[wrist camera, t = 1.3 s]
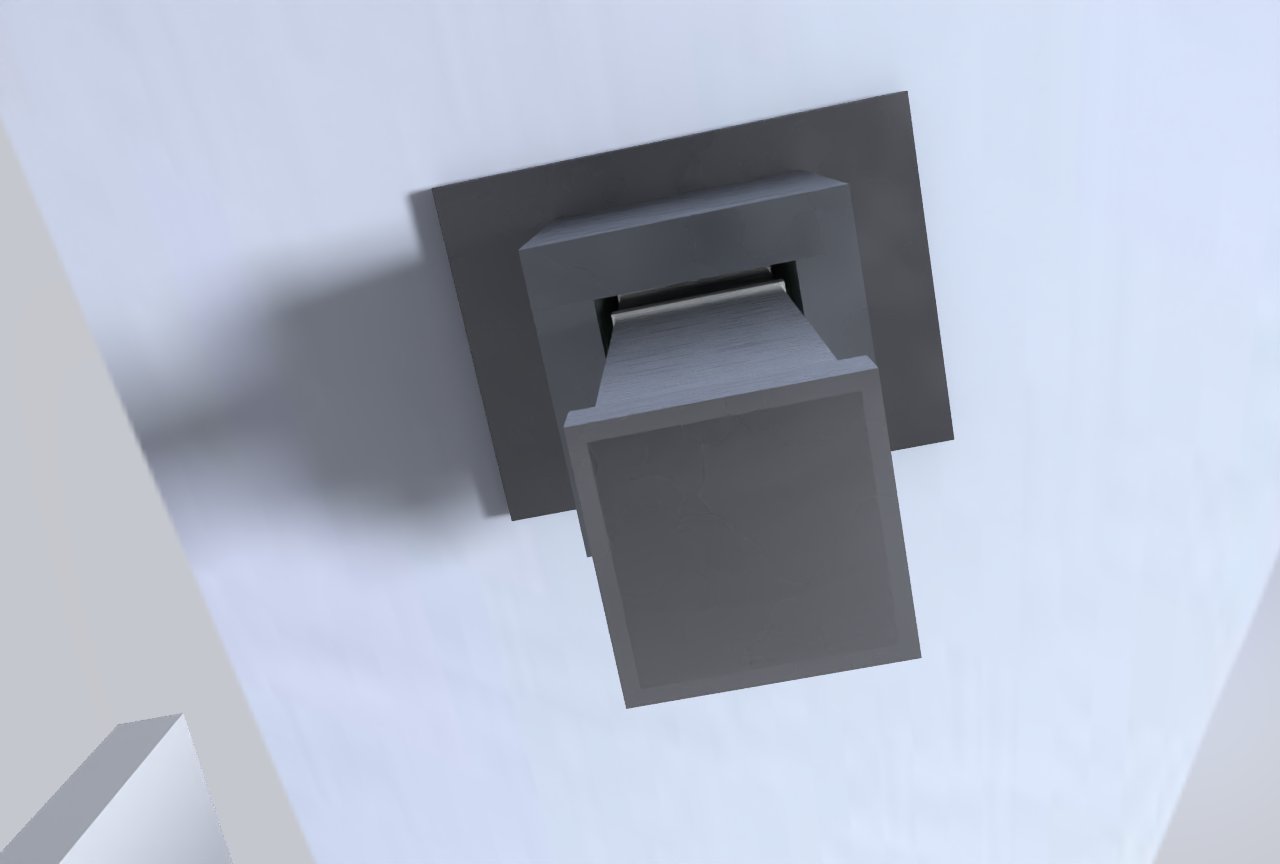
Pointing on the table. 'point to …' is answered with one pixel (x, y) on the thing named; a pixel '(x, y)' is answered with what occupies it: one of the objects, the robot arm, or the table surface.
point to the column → (738, 496)
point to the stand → (693, 267)
